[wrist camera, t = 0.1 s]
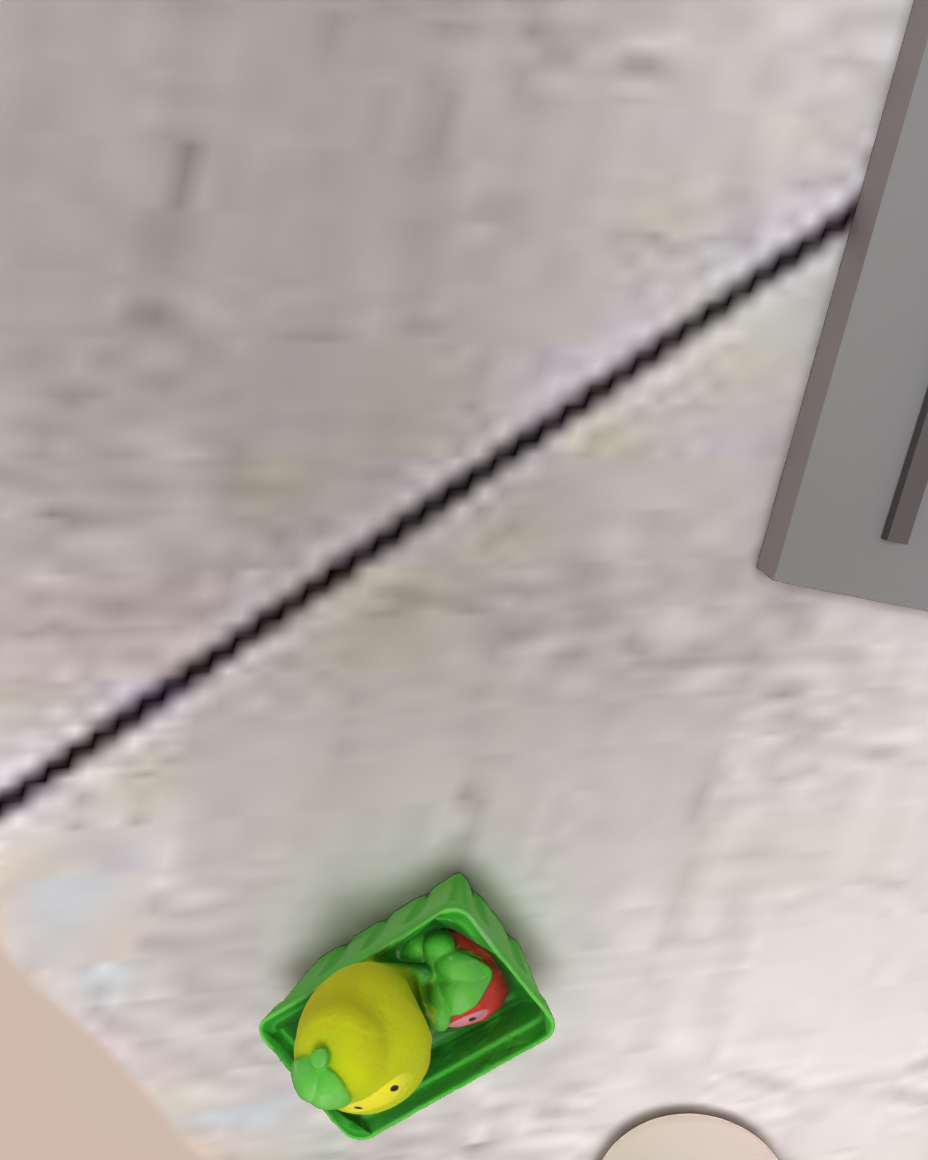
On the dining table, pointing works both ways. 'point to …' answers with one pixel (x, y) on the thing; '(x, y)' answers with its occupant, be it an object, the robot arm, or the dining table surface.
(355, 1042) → the fruit basket
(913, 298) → the console
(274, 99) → the dining table surface
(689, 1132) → the cup
